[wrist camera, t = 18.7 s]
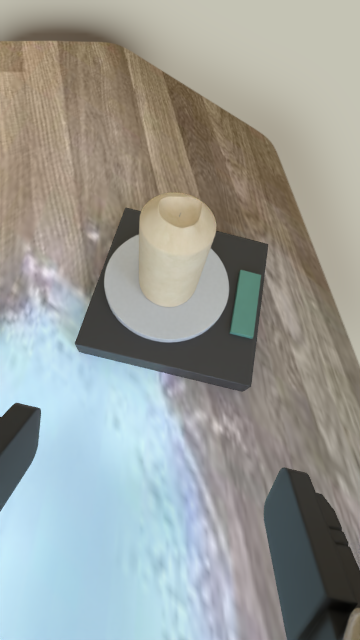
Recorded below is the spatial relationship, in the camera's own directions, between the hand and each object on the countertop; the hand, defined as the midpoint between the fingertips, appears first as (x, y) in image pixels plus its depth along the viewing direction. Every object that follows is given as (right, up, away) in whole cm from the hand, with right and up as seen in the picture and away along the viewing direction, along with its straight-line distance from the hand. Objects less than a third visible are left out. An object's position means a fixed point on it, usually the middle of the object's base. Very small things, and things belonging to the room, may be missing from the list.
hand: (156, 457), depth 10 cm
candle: (0, +8, +20) cm, 22 cm away
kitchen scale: (+1, +7, +23) cm, 24 cm away
